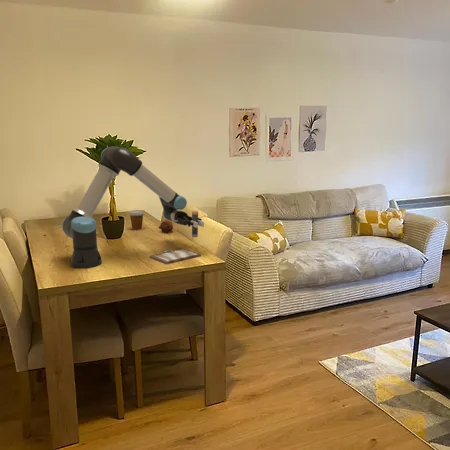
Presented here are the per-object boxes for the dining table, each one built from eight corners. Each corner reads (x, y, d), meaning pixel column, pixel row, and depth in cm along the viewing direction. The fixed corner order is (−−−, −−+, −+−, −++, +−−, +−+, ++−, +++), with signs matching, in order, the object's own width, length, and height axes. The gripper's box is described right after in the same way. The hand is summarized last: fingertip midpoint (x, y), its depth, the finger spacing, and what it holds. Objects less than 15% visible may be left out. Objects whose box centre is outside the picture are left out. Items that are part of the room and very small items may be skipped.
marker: (193, 237, 255) (193, 212, 252) (190, 235, 258) (190, 211, 255) (199, 236, 257) (199, 211, 254) (196, 235, 260) (196, 210, 256)
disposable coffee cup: (141, 230, 311) (140, 213, 309) (127, 230, 313) (126, 212, 311) (146, 227, 320) (145, 210, 318) (133, 227, 322) (132, 210, 320)
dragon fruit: (168, 236, 302) (163, 235, 313) (178, 227, 305) (172, 226, 316) (160, 226, 300) (154, 225, 310) (170, 217, 302) (164, 217, 313)
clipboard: (166, 264, 238) (166, 260, 238) (149, 257, 250) (149, 253, 250) (200, 256, 252) (200, 252, 252) (183, 250, 264) (183, 246, 264)
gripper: (192, 222, 275) (213, 229, 256) (167, 225, 267) (186, 233, 248) (192, 209, 274) (213, 216, 255) (166, 212, 265) (186, 219, 246)
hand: (200, 224), depth 251 cm, fingers closed on marker, 3 cm apart
